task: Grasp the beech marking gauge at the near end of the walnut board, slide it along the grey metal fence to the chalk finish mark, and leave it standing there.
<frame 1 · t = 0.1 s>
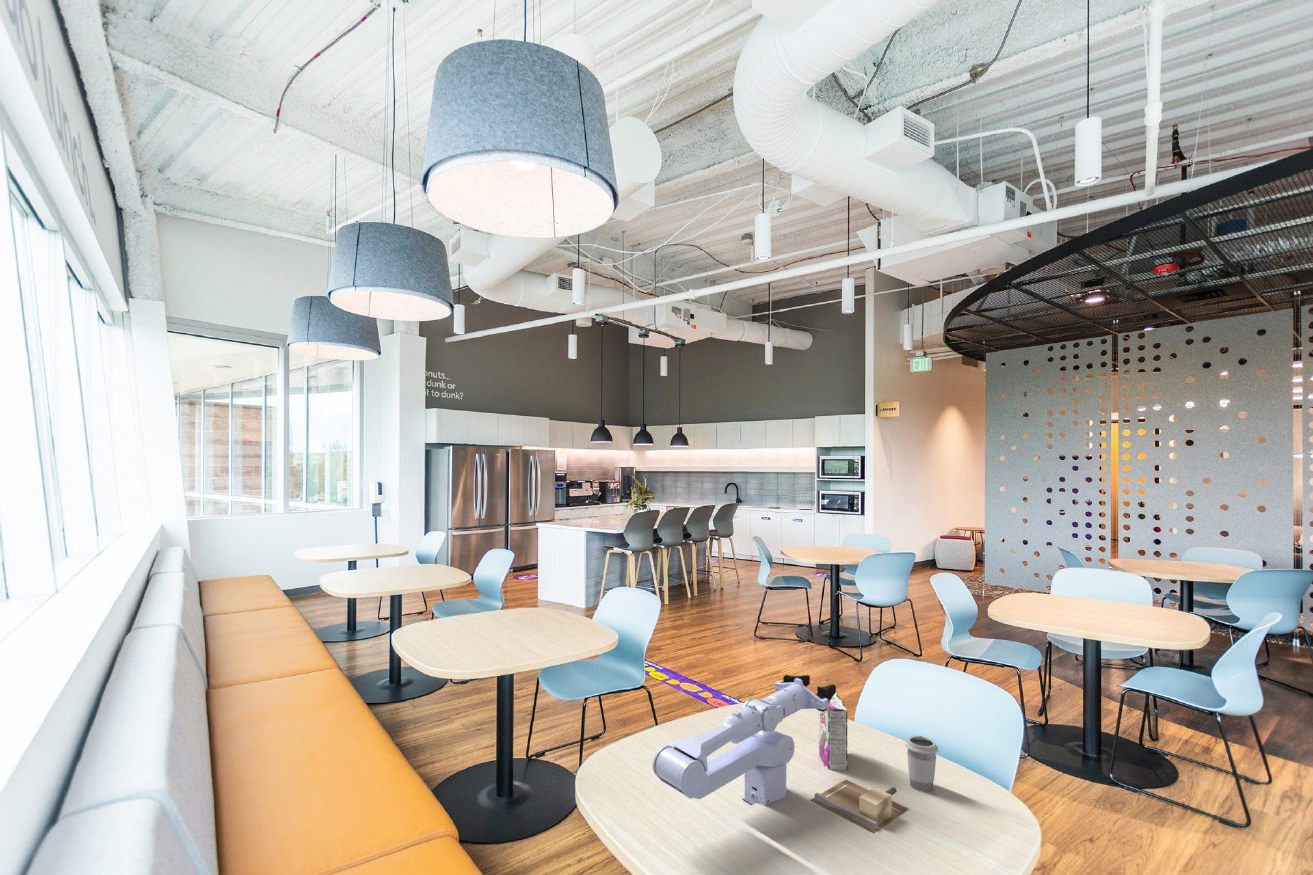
hand: (821, 683, 163), 22 cm above the table, tool horizontal, fingers open, 7 cm apart
walnut board: (858, 811, 146), on the table
cup: (921, 793, 154), on the table
marking gauge: (875, 816, 141), point 1 cm above the table, touching walnut board
candy bar box: (832, 765, 167), on the table
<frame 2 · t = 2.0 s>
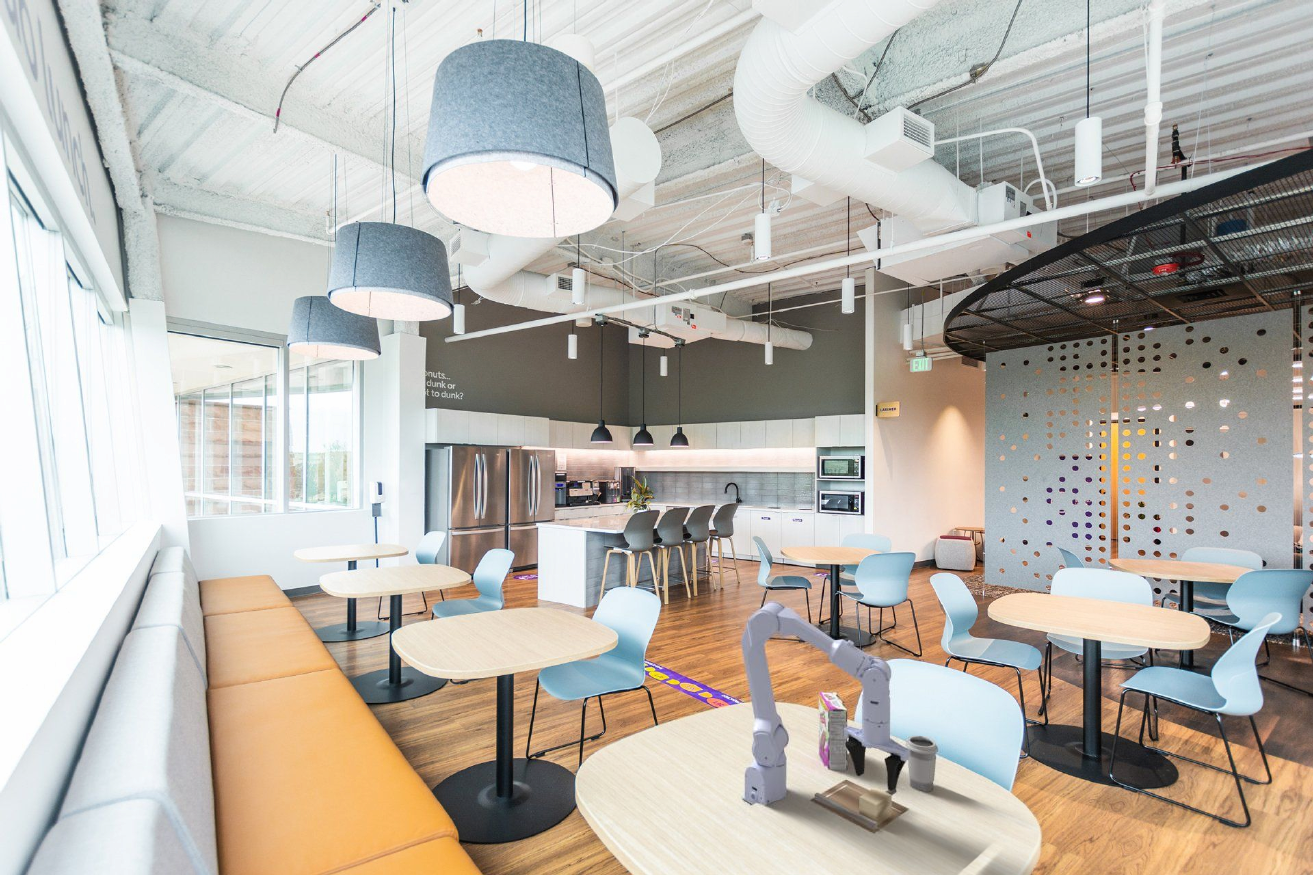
hand: (875, 781, 141), 9 cm above the table, tool pointing down, fingers open, 7 cm apart
nothing on the table moved.
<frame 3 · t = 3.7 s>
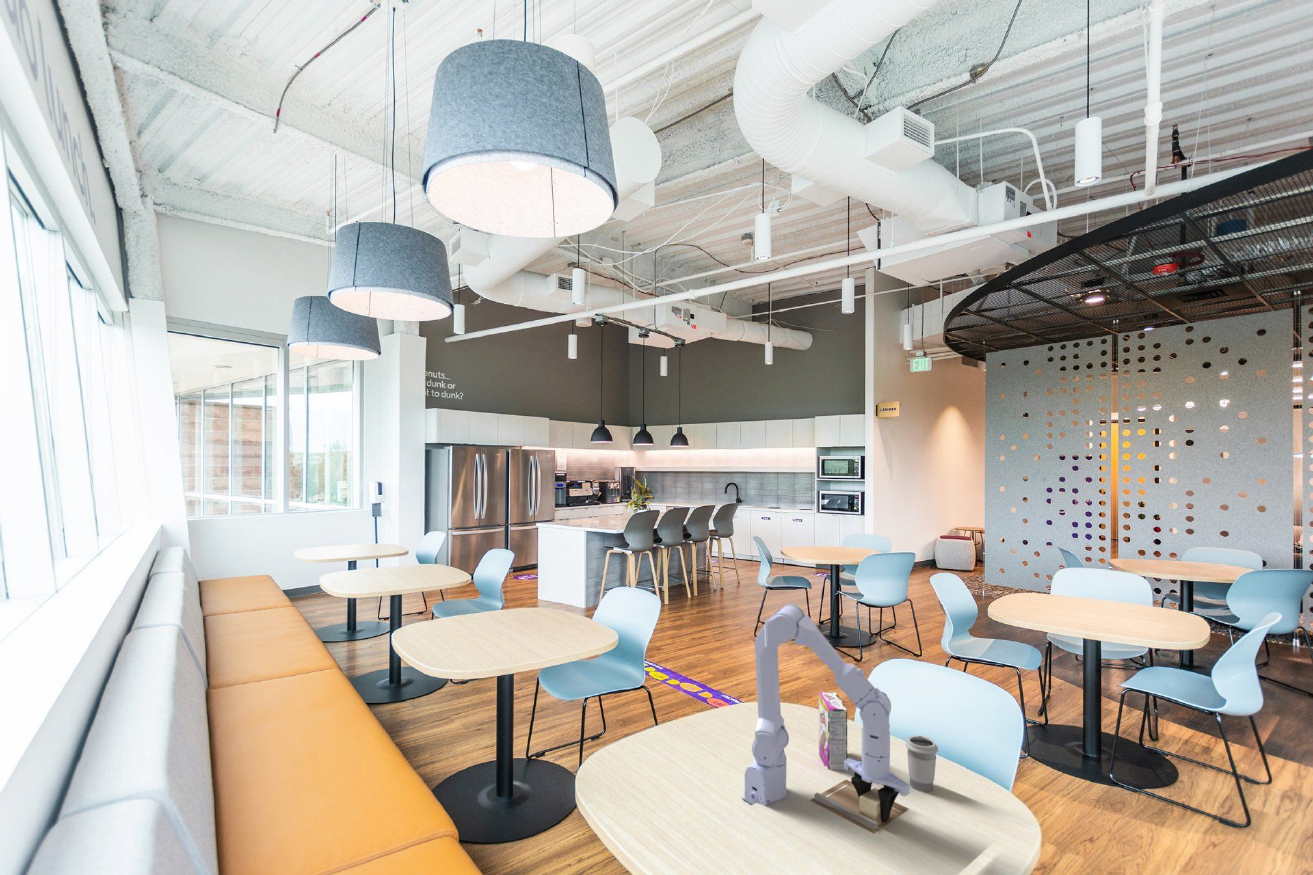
hand: (875, 814, 141), 2 cm above the table, tool pointing down, fingers closed on marking gauge, 4 cm apart
marking gauge: (875, 816, 141), point 1 cm above the table, touching gripper, walnut board
everything else where it was.
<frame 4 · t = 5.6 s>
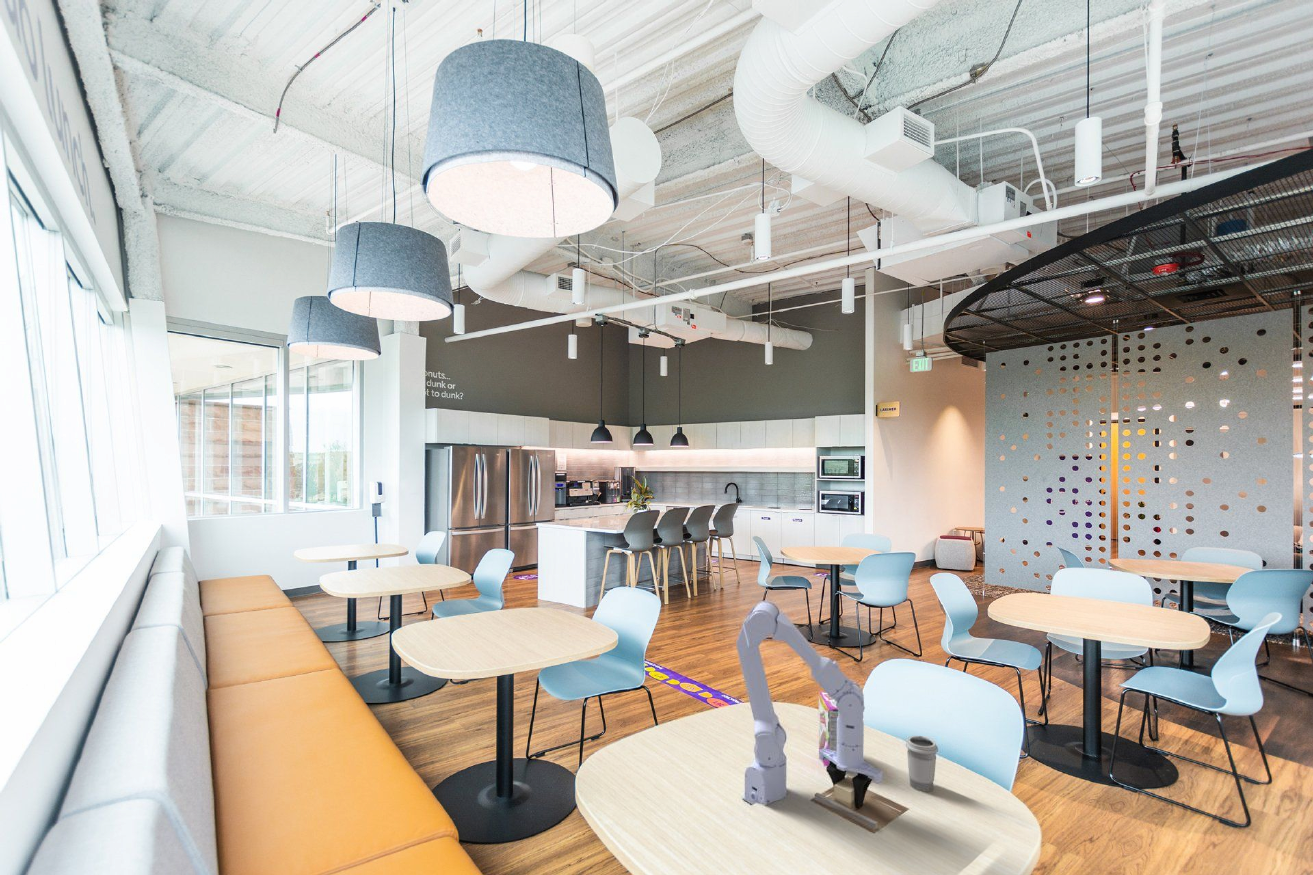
hand: (849, 802, 146), 2 cm above the table, tool pointing down, fingers closed on marking gauge, 4 cm apart
marking gauge: (849, 803, 146), point 2 cm above the table, touching gripper
everything else where it was.
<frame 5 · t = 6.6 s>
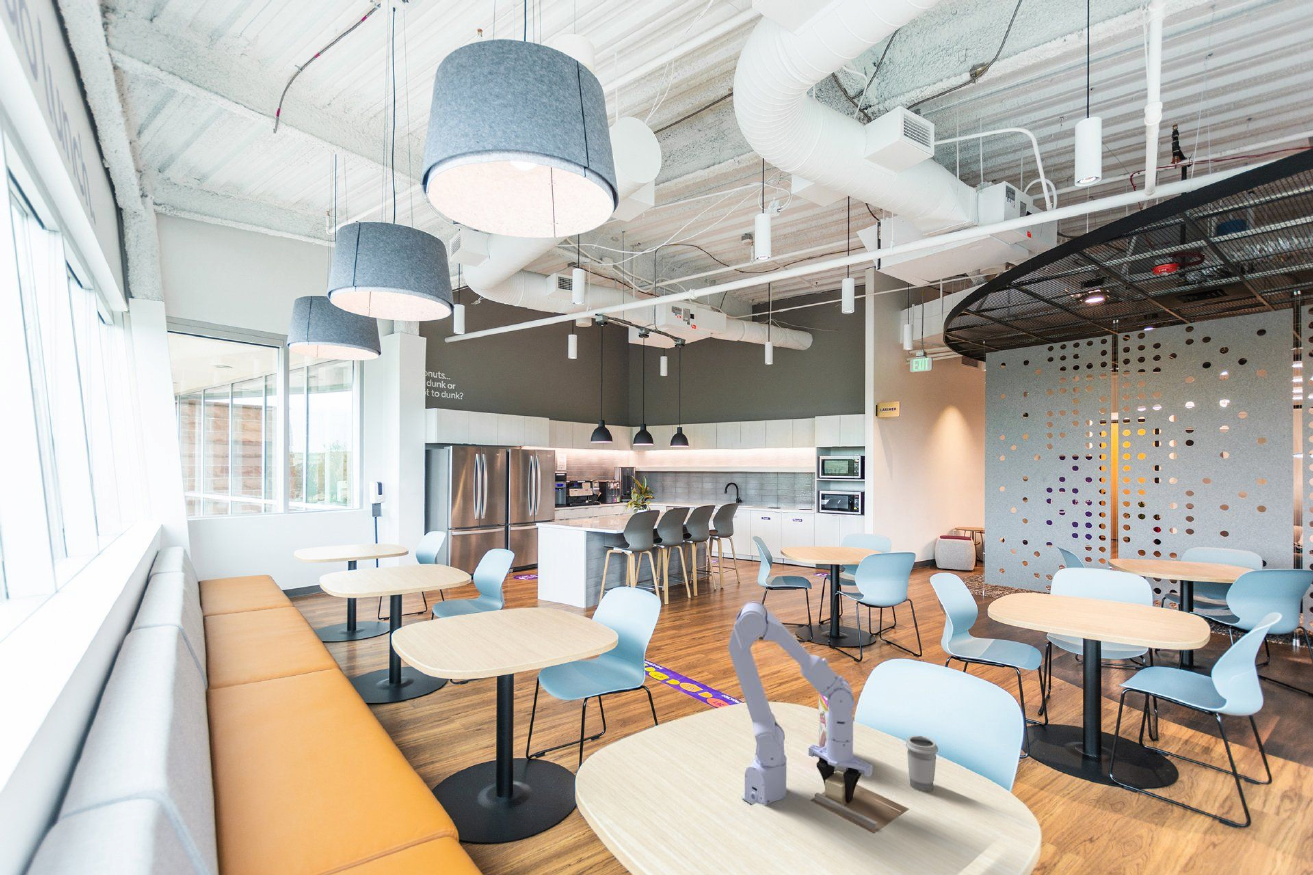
hand: (839, 796, 148), 2 cm above the table, tool pointing down, fingers closed on marking gauge, 4 cm apart
marking gauge: (839, 798, 148), point 2 cm above the table, touching gripper
everything else where it was.
when the fingers open (2 cm above the table, at t = 7.4 s): marking gauge stays where it is, resting on walnut board.
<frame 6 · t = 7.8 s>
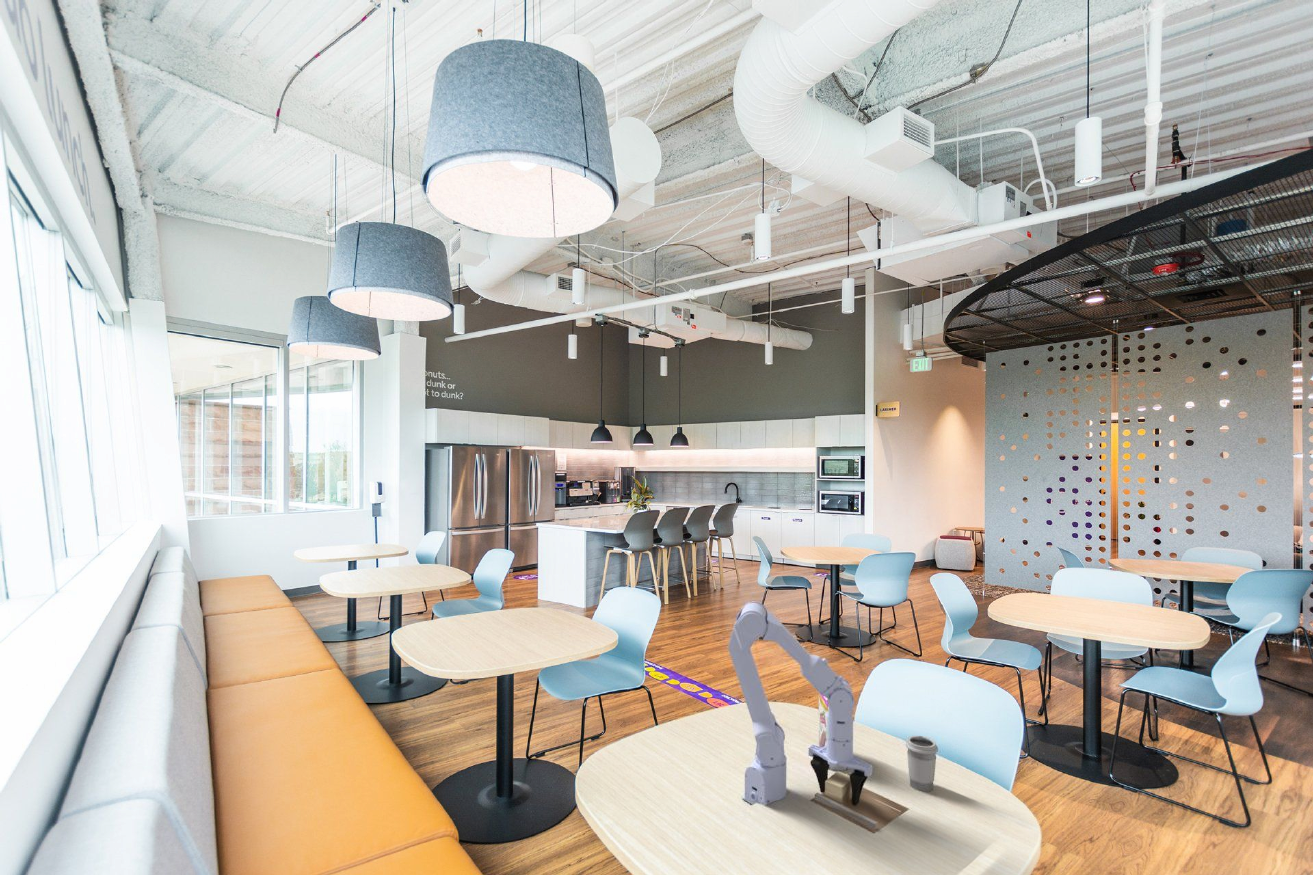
hand: (839, 796, 148), 2 cm above the table, tool pointing down, fingers open, 7 cm apart
marking gauge: (839, 798, 148), point 2 cm above the table, touching walnut board
everything else where it was.
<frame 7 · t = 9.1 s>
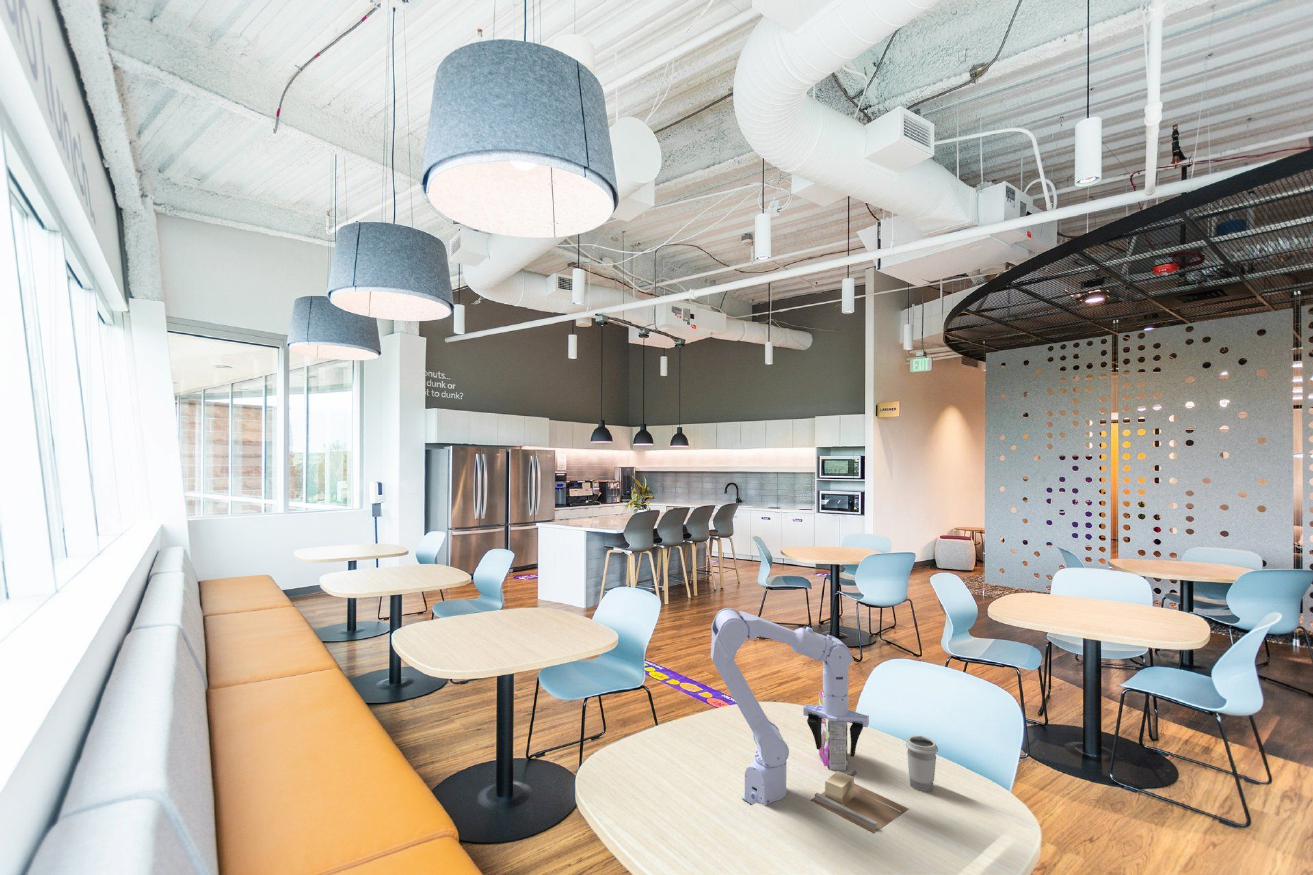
hand: (835, 751, 152), 10 cm above the table, tool pointing down, fingers open, 7 cm apart
nothing on the table moved.
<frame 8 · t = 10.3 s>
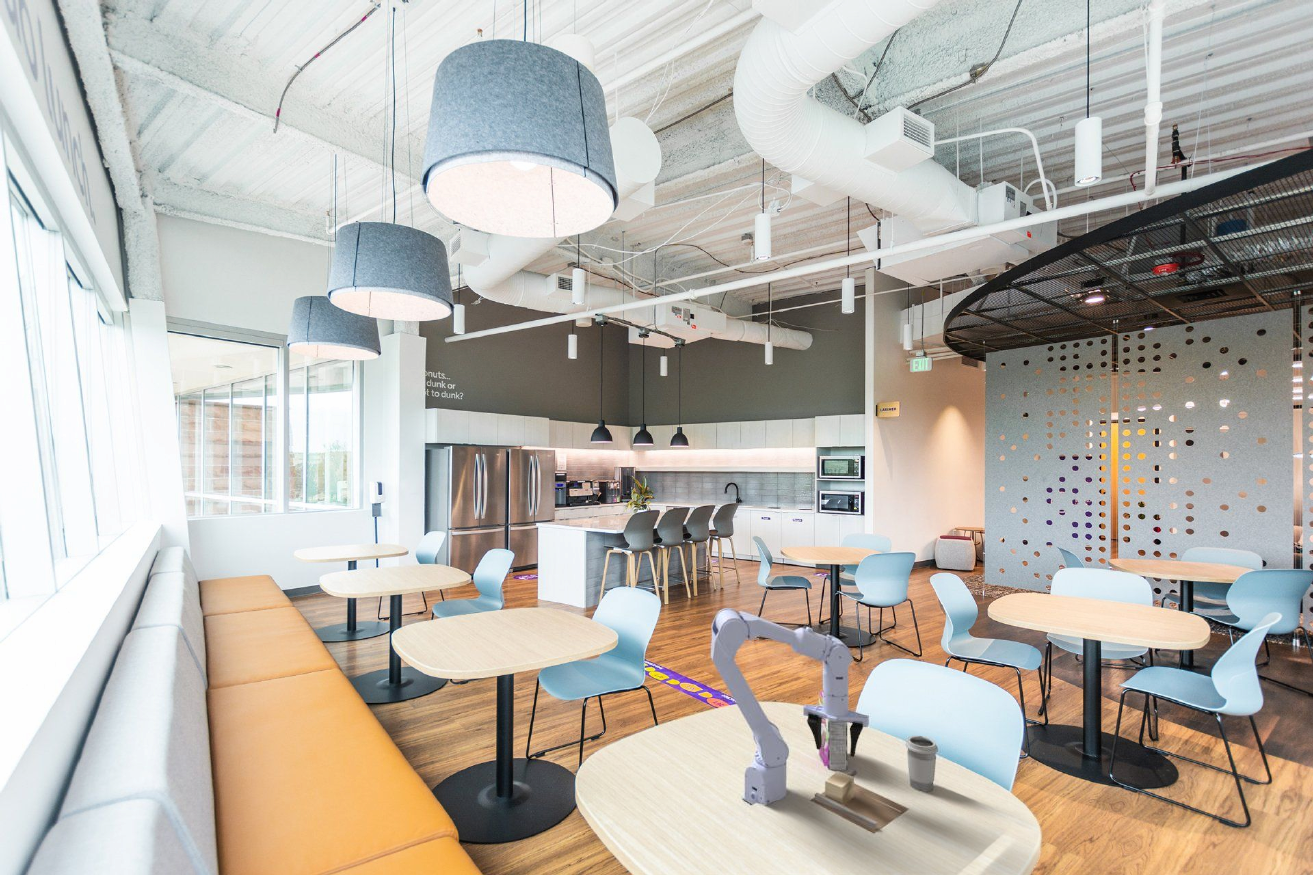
hand: (835, 751, 152), 10 cm above the table, tool pointing down, fingers open, 7 cm apart
nothing on the table moved.
at the end: marking gauge 0.0 cm from the target spot, point 1.5 cm above the table; marking gauge tilted 1°; the gripper is holding nothing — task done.
